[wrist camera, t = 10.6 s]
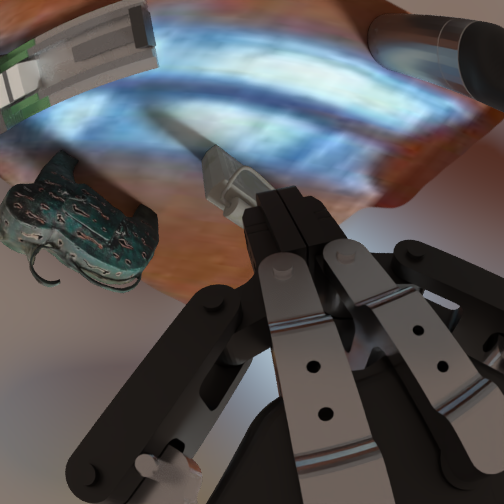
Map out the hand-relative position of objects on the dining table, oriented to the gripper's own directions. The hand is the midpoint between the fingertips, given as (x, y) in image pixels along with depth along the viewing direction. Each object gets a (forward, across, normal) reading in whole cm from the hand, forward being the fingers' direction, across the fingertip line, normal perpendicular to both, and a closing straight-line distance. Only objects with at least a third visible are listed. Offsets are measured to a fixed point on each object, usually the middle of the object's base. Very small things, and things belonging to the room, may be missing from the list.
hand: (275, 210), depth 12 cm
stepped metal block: (+27, +10, -10) cm, 31 cm away
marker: (+28, +23, -10) cm, 37 cm away
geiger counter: (+29, -6, +17) cm, 34 cm away
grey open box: (+29, +16, -10) cm, 35 cm away
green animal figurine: (+29, +18, +9) cm, 35 cm away
